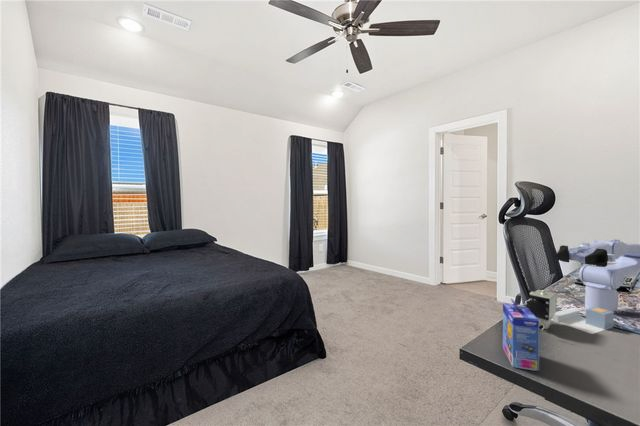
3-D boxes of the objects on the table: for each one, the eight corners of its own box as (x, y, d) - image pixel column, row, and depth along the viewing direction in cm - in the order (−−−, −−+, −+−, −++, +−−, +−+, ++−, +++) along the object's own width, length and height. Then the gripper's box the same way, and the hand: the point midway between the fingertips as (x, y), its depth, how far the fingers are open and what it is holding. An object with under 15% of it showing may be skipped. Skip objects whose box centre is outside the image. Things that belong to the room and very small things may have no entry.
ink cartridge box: (500, 347, 77) (502, 293, 77) (524, 350, 76) (526, 296, 75) (511, 367, 68) (513, 307, 67) (539, 372, 66) (542, 309, 66)
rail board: (571, 316, 97) (571, 307, 97) (613, 329, 88) (614, 319, 88) (549, 322, 93) (550, 312, 93) (592, 337, 83) (592, 326, 83)
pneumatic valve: (556, 326, 90) (558, 288, 89) (546, 338, 82) (548, 296, 82) (535, 320, 94) (536, 284, 94) (523, 331, 87) (524, 291, 86)
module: (594, 320, 92) (594, 306, 92) (613, 326, 88) (613, 311, 87) (585, 323, 90) (586, 308, 90) (604, 329, 86) (605, 314, 85)
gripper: (566, 239, 104) (544, 243, 98) (621, 243, 91) (600, 248, 85) (567, 258, 105) (545, 264, 99) (622, 265, 91) (601, 272, 86)
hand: (571, 258), depth 92 cm, fingers open, 7 cm apart
